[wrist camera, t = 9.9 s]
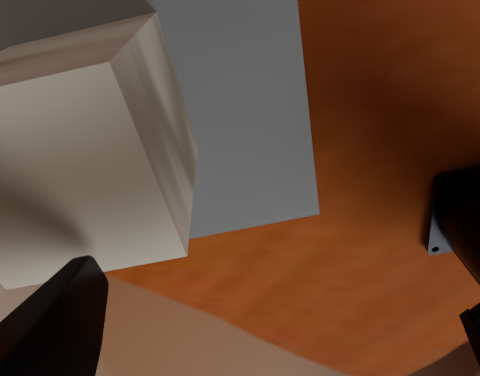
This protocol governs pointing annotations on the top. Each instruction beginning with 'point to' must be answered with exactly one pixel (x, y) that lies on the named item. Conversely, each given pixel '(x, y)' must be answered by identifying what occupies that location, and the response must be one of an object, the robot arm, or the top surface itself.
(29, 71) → the cream block
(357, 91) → the top surface
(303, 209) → the plinth
